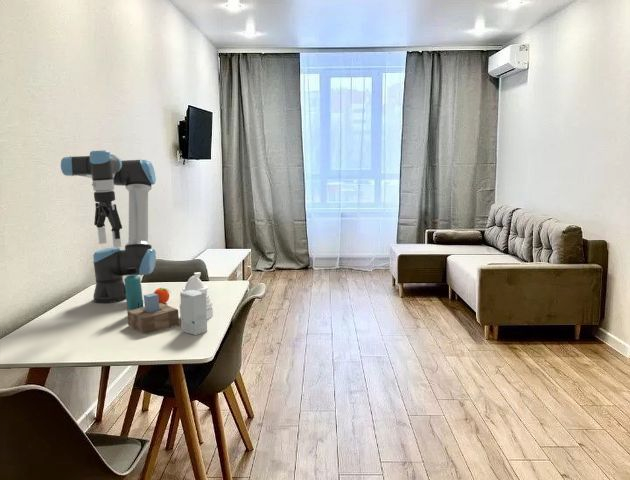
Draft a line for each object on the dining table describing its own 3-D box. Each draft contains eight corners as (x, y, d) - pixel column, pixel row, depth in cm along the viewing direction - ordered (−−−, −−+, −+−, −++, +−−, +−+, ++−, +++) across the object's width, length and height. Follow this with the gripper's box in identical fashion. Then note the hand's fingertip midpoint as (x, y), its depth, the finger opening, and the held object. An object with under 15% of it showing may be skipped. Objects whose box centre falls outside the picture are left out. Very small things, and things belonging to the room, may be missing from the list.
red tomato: (174, 301, 249) (173, 285, 248) (169, 305, 243) (167, 289, 241) (157, 301, 250) (155, 286, 249) (151, 306, 243) (149, 290, 242)
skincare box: (181, 331, 207) (178, 292, 205) (194, 327, 212) (191, 288, 209) (195, 335, 202) (192, 295, 199) (209, 331, 206) (206, 291, 204)
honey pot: (219, 313, 228) (216, 270, 225) (200, 323, 217) (196, 277, 214) (193, 310, 233) (190, 268, 230) (173, 320, 222) (169, 275, 219)
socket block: (128, 325, 217) (127, 310, 216) (162, 317, 226) (160, 302, 225) (144, 333, 206) (143, 318, 205) (179, 324, 216) (177, 309, 215)
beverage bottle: (139, 318, 226) (134, 269, 223) (124, 317, 228) (119, 269, 224) (147, 313, 233) (142, 265, 229) (132, 313, 234) (128, 265, 231)
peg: (146, 325, 216) (143, 295, 214) (156, 323, 219) (153, 293, 217) (151, 327, 213) (148, 297, 211) (161, 325, 216) (158, 294, 214)
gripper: (81, 190, 223) (88, 243, 227) (108, 193, 205) (114, 250, 209) (100, 188, 228) (106, 240, 232) (127, 191, 210) (133, 247, 214)
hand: (110, 245), depth 221 cm, fingers open, 13 cm apart
